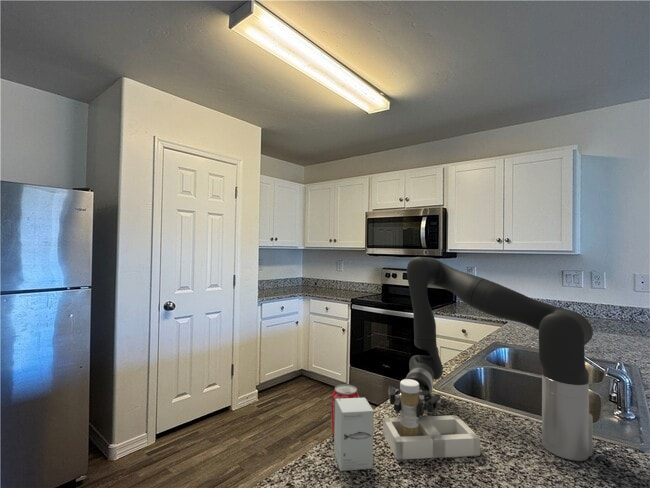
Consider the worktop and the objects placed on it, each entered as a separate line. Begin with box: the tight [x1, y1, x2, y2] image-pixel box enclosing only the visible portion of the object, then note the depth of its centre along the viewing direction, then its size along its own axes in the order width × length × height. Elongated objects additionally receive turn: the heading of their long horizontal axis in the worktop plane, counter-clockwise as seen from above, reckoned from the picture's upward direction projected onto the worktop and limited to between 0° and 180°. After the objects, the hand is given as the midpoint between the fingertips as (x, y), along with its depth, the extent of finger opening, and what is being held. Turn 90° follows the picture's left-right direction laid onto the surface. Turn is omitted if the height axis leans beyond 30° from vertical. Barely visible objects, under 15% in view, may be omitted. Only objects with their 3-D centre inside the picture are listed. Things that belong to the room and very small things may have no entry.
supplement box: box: [333, 396, 375, 472], centre depth 76 cm, size 7×7×13 cm
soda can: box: [330, 383, 360, 436], centre depth 86 cm, size 7×7×12 cm
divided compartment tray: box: [382, 414, 481, 460], centre depth 83 cm, size 20×11×4 cm, turn 96°
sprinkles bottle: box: [399, 378, 419, 437], centre depth 83 cm, size 5×5×13 cm
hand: (407, 411), depth 80 cm, fingers closed on sprinkles bottle, 4 cm apart
